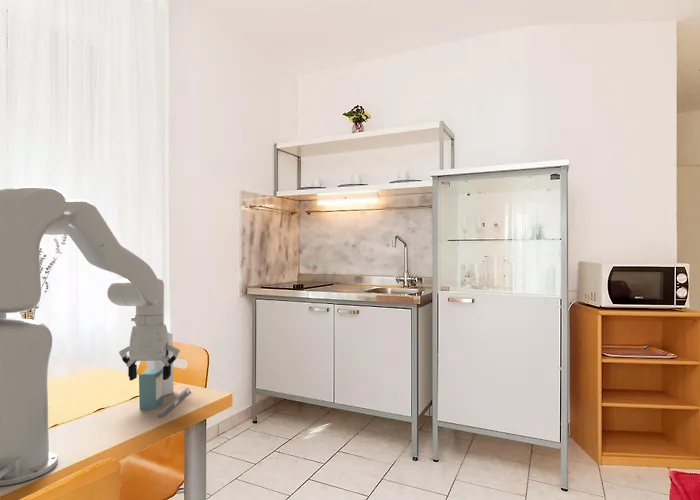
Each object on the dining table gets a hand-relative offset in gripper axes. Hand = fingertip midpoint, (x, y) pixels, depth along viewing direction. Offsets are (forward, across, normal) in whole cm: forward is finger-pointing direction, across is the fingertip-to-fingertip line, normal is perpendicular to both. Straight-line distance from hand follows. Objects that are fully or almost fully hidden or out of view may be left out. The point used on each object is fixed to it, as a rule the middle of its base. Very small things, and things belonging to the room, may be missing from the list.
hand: (149, 379), depth 129 cm
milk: (+8, -2, +12) cm, 14 cm away
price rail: (+8, +7, +2) cm, 11 cm away
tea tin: (+8, 0, +1) cm, 8 cm away
